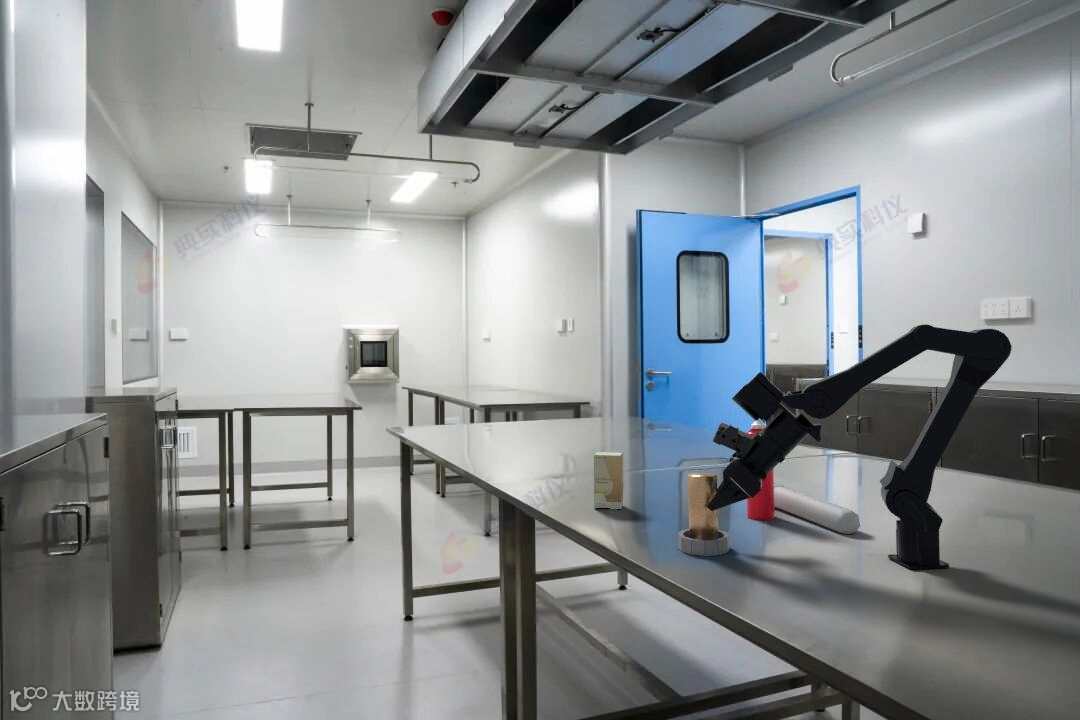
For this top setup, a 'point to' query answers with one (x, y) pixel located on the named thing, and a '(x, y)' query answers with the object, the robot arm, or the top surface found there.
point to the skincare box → (608, 480)
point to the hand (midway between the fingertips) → (712, 503)
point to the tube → (816, 510)
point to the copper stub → (702, 506)
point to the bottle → (762, 489)
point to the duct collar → (704, 544)
